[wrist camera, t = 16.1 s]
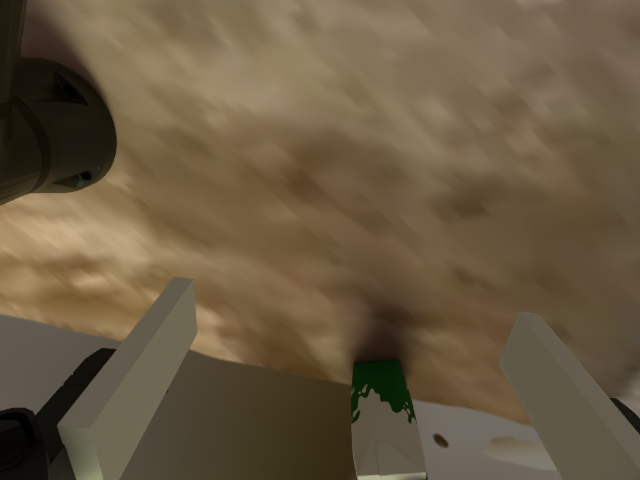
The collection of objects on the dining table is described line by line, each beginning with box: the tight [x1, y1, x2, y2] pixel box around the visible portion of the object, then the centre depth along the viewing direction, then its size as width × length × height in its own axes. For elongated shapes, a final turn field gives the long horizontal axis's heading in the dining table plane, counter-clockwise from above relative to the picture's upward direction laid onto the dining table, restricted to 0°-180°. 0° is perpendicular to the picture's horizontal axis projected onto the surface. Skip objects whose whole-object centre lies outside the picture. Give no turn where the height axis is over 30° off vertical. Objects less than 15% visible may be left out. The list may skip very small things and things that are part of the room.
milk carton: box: [351, 359, 428, 480], centre depth 49 cm, size 9×9×20 cm
